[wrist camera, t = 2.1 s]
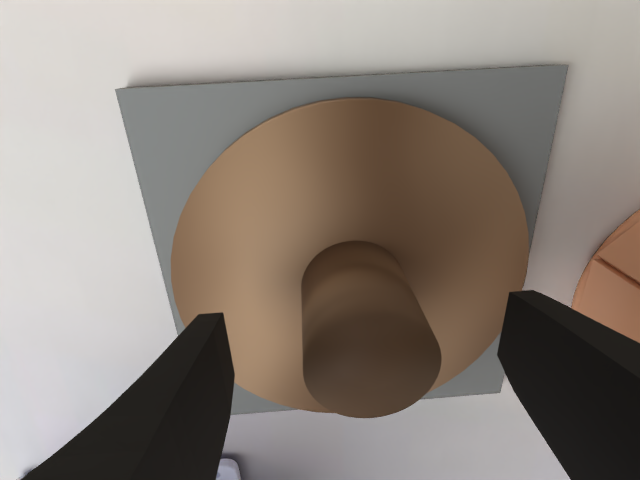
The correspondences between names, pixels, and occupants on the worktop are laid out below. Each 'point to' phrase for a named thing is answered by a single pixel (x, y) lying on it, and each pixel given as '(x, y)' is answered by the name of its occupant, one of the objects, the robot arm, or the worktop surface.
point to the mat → (283, 94)
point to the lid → (352, 254)
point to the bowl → (614, 281)
